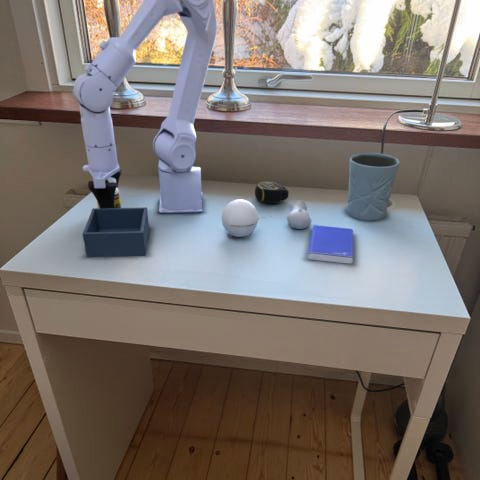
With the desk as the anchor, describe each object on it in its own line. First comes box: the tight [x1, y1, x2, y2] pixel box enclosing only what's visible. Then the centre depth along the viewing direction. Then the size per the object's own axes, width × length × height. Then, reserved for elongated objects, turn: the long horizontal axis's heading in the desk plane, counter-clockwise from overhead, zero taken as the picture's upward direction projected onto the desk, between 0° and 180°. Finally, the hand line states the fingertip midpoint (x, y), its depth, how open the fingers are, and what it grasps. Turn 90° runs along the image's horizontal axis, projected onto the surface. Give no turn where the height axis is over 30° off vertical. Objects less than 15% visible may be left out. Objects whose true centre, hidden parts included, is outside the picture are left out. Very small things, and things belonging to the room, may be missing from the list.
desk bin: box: [82, 206, 150, 258], centre depth 89 cm, size 11×12×5 cm
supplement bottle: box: [96, 177, 122, 208], centre depth 97 cm, size 5×5×8 cm
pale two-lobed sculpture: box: [286, 199, 312, 230], centre depth 98 cm, size 4×8×5 cm
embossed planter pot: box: [346, 152, 401, 222], centre depth 101 cm, size 10×10×12 cm
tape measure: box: [254, 180, 289, 204], centre depth 109 cm, size 7×7×4 cm
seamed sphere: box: [221, 198, 273, 238], centre depth 92 cm, size 10×7×7 cm
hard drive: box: [307, 224, 354, 265], centre depth 90 cm, size 2×8×12 cm
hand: (110, 209), depth 99 cm, fingers closed on supplement bottle, 5 cm apart
